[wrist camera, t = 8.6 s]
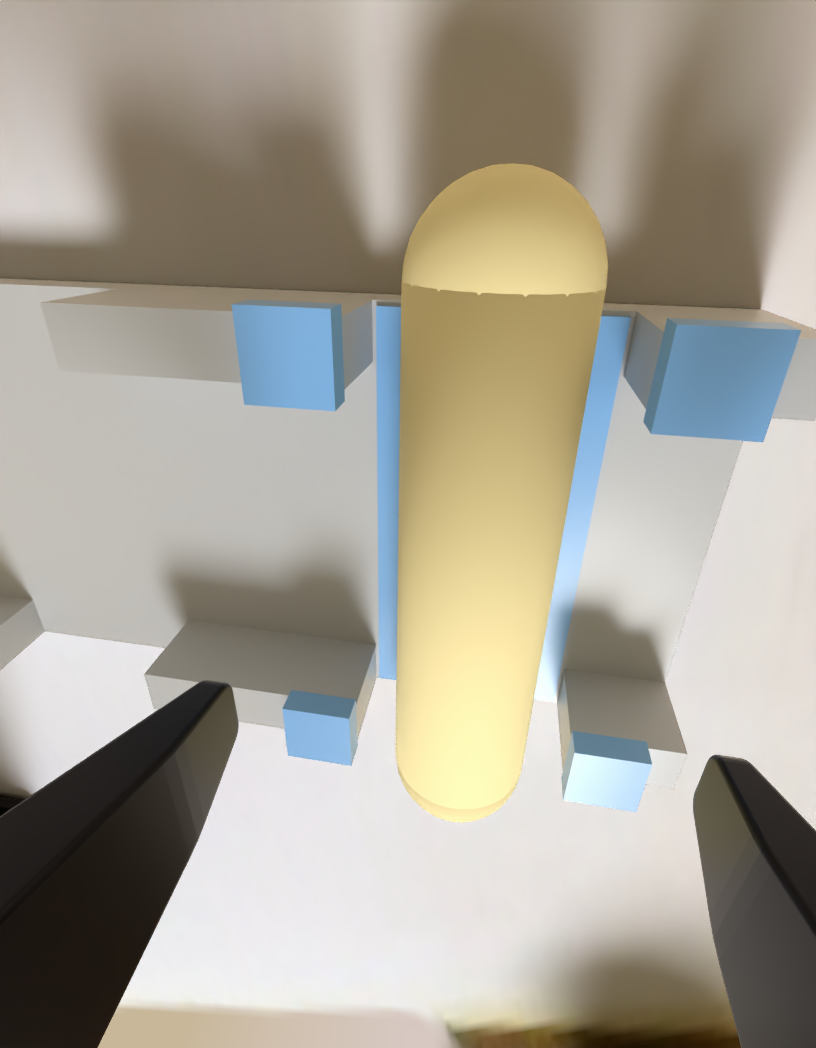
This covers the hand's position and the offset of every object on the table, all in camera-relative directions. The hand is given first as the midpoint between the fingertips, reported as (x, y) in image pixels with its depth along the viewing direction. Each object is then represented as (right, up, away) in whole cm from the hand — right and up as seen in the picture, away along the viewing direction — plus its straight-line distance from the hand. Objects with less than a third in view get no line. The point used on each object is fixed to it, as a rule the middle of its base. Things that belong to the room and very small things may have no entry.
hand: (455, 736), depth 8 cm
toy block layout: (-4, +4, +7) cm, 9 cm away
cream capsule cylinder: (+1, +3, +5) cm, 6 cm away
